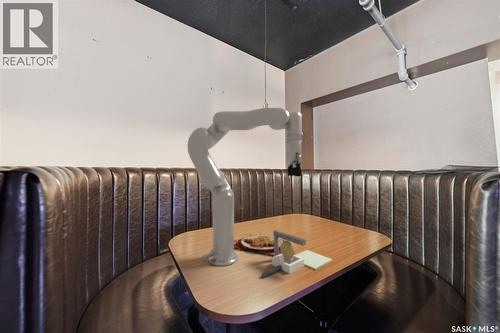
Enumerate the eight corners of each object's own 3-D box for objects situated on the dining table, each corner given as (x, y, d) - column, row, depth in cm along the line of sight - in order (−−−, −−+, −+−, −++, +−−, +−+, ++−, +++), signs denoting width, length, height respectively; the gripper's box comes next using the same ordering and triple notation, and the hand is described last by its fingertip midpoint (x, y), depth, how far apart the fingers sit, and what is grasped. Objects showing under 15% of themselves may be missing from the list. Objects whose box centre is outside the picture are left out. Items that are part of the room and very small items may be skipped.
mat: (315, 270, 77) (315, 268, 77) (289, 258, 87) (289, 257, 87) (332, 260, 86) (332, 259, 86) (306, 251, 96) (306, 249, 96)
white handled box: (271, 283, 68) (271, 253, 68) (249, 269, 78) (249, 243, 78) (304, 266, 81) (304, 240, 81) (282, 256, 90) (281, 233, 90)
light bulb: (293, 261, 84) (293, 238, 85) (297, 269, 78) (297, 244, 78) (279, 262, 84) (278, 238, 85) (281, 269, 78) (281, 244, 78)
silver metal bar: (302, 246, 74) (301, 241, 74) (272, 235, 87) (271, 231, 87) (306, 244, 76) (306, 239, 76) (276, 234, 88) (276, 230, 88)
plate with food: (280, 259, 88) (280, 251, 88) (229, 248, 99) (229, 241, 99) (291, 242, 111) (291, 236, 111) (249, 234, 122) (249, 229, 122)
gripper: (281, 142, 99) (281, 175, 99) (291, 136, 82) (291, 176, 82) (295, 142, 100) (295, 175, 99) (308, 136, 83) (309, 176, 82)
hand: (294, 176), depth 90 cm, fingers open, 9 cm apart
